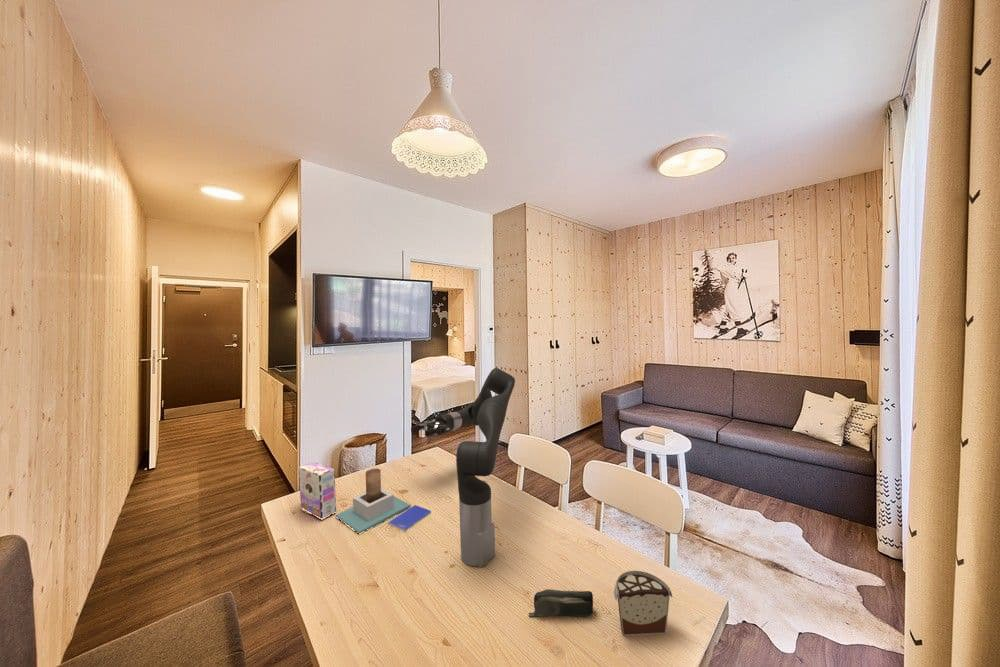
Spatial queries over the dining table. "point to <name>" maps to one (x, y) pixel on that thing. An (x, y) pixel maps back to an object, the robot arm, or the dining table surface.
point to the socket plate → (372, 511)
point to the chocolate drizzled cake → (642, 603)
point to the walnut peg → (373, 485)
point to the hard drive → (409, 518)
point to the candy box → (317, 489)
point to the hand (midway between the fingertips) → (418, 431)
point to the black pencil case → (563, 603)
